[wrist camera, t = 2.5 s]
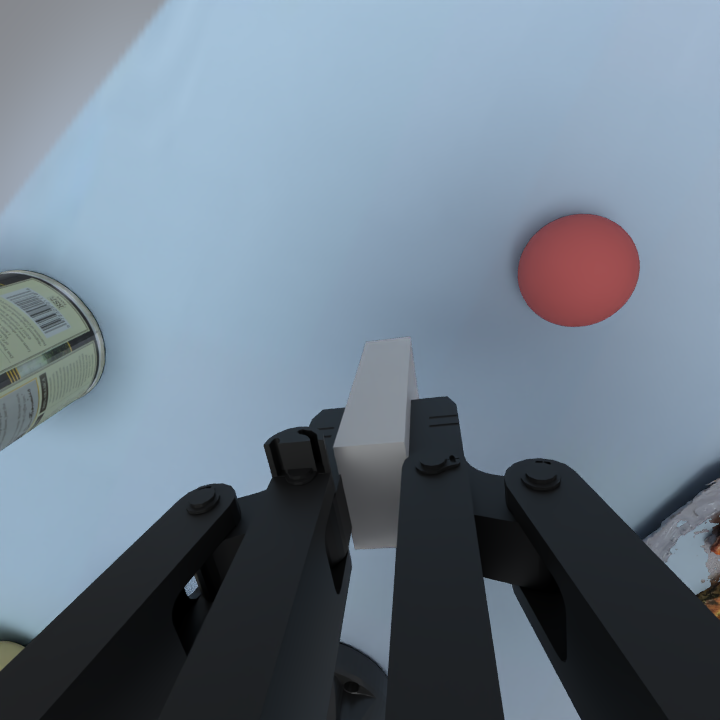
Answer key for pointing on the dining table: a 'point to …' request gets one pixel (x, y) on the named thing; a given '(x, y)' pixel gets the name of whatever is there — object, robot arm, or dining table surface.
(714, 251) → the dining table surface
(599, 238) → the ball
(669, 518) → the food plate
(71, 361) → the coffee can
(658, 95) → the dining table surface
